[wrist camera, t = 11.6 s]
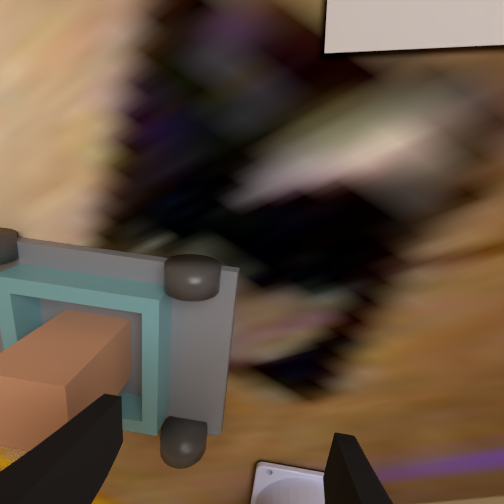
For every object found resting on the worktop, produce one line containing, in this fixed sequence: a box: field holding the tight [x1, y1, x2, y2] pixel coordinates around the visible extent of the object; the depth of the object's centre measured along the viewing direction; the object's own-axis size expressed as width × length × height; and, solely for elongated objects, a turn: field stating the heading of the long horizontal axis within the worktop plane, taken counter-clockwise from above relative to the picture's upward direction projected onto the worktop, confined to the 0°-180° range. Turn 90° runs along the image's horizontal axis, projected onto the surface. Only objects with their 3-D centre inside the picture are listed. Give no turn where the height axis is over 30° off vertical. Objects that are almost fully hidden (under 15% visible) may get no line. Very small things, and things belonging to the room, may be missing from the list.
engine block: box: [0, 309, 132, 451], centre depth 17 cm, size 4×4×6 cm
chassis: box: [0, 228, 239, 469], centre depth 19 cm, size 18×14×3 cm
